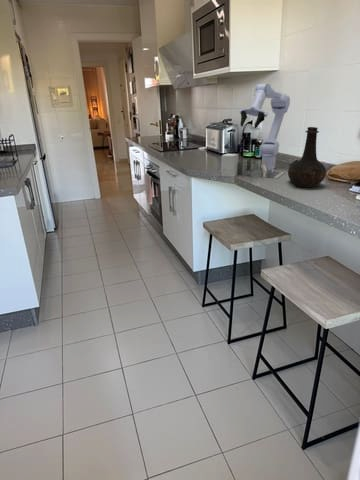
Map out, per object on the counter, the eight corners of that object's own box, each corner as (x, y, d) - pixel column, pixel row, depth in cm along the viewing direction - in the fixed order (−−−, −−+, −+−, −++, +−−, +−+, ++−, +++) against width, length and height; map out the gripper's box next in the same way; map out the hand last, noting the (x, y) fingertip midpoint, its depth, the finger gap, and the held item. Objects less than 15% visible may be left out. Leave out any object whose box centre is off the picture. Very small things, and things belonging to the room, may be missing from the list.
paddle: (265, 172, 193) (262, 164, 193) (267, 171, 193) (264, 163, 192) (263, 173, 191) (260, 165, 190) (265, 172, 190) (262, 164, 190)
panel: (255, 172, 203) (255, 165, 202) (285, 174, 195) (286, 167, 193) (245, 178, 190) (245, 170, 188) (277, 180, 181) (278, 173, 180)
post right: (247, 171, 206) (247, 158, 203) (250, 171, 205) (251, 158, 202) (245, 172, 204) (246, 158, 201) (249, 172, 203) (250, 159, 200)
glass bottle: (294, 179, 183) (300, 125, 172) (329, 184, 172) (337, 126, 161) (280, 186, 170) (286, 127, 159) (316, 191, 159) (325, 129, 149)
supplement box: (238, 176, 194) (239, 153, 190) (233, 178, 189) (234, 155, 184) (226, 175, 198) (226, 153, 193) (221, 177, 192) (221, 155, 187)
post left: (238, 176, 195) (239, 162, 192) (242, 176, 194) (243, 162, 191) (237, 176, 193) (237, 162, 190) (241, 177, 192) (241, 163, 189)
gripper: (242, 98, 178) (233, 119, 176) (269, 100, 172) (260, 122, 169) (245, 106, 185) (236, 128, 182) (271, 109, 178) (262, 131, 176)
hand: (248, 126), depth 176 cm, fingers open, 7 cm apart
